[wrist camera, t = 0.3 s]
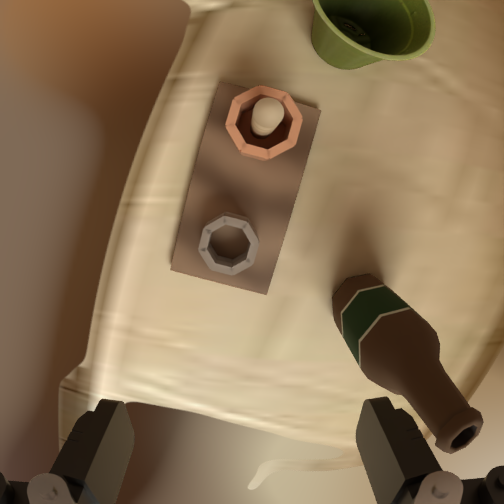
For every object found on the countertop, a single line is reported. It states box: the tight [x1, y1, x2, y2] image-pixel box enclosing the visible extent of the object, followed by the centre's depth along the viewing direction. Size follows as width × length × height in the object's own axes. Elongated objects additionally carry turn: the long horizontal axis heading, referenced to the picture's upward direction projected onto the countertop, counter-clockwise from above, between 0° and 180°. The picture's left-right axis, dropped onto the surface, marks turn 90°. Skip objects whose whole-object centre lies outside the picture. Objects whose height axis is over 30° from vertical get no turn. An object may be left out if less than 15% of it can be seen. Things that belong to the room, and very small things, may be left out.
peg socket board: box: [170, 82, 321, 295], centre depth 32 cm, size 21×11×4 cm, turn 164°
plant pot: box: [311, 0, 435, 70], centre depth 25 cm, size 12×12×11 cm
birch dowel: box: [250, 98, 284, 139], centre depth 26 cm, size 2×2×10 cm
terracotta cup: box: [225, 85, 303, 161], centre depth 29 cm, size 6×6×6 cm
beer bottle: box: [332, 274, 483, 454], centre depth 26 cm, size 8×8×24 cm
